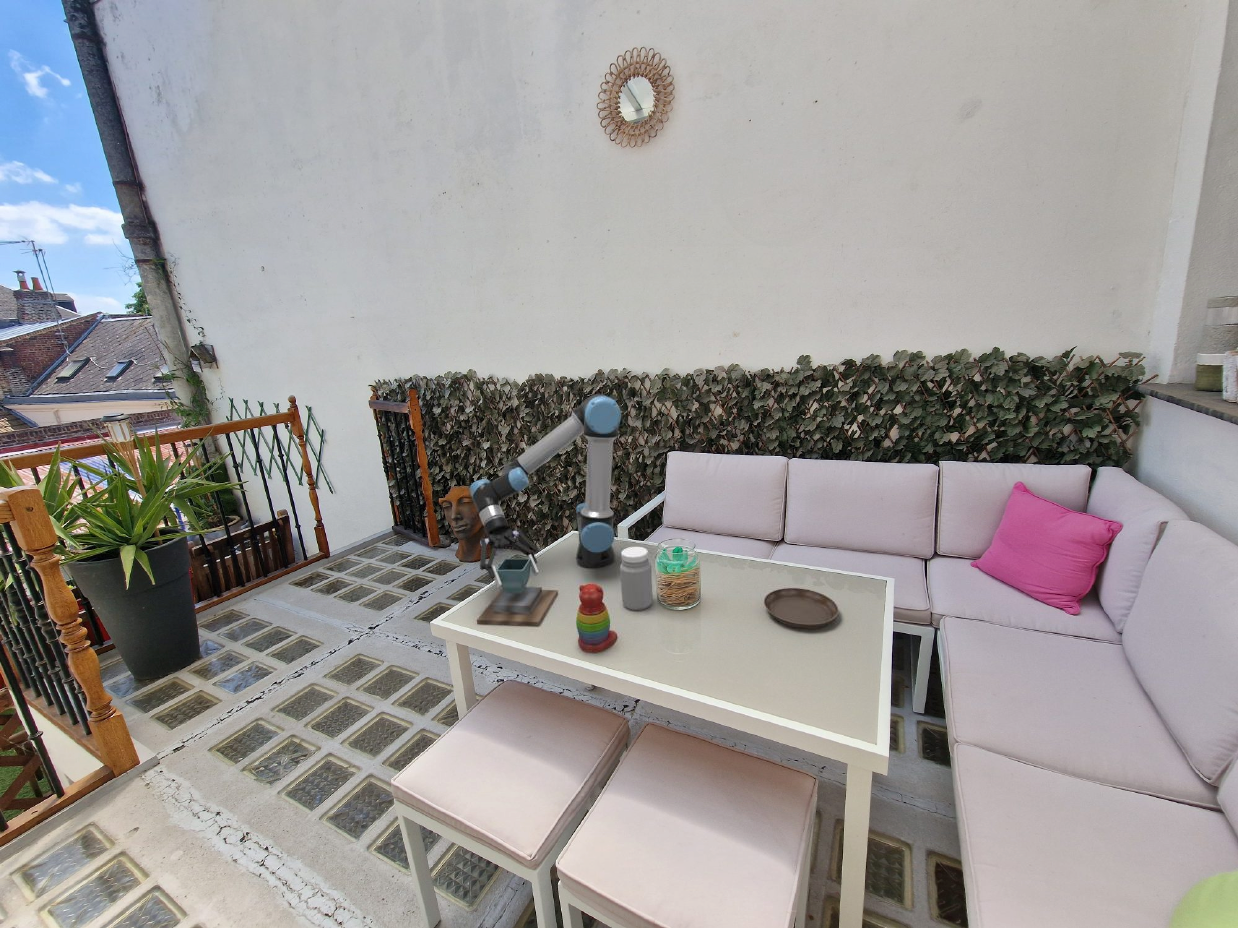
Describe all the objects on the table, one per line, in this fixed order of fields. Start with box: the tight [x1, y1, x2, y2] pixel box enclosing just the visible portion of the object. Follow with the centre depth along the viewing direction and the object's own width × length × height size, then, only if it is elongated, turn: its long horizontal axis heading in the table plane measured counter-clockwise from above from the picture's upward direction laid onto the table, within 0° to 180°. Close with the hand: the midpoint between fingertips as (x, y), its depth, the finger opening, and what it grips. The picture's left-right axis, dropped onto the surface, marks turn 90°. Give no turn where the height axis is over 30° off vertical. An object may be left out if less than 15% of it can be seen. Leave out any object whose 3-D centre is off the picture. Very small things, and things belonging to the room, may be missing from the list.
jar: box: [619, 546, 654, 611], centre depth 159 cm, size 10×10×18 cm
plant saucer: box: [763, 587, 839, 630], centre depth 149 cm, size 21×21×3 cm
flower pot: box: [496, 558, 531, 593], centre depth 161 cm, size 9×9×9 cm
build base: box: [476, 586, 559, 627], centre depth 163 cm, size 20×20×4 cm
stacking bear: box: [575, 583, 618, 653], centre depth 140 cm, size 11×10×18 cm
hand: (518, 580), depth 159 cm, fingers closed on flower pot, 12 cm apart
